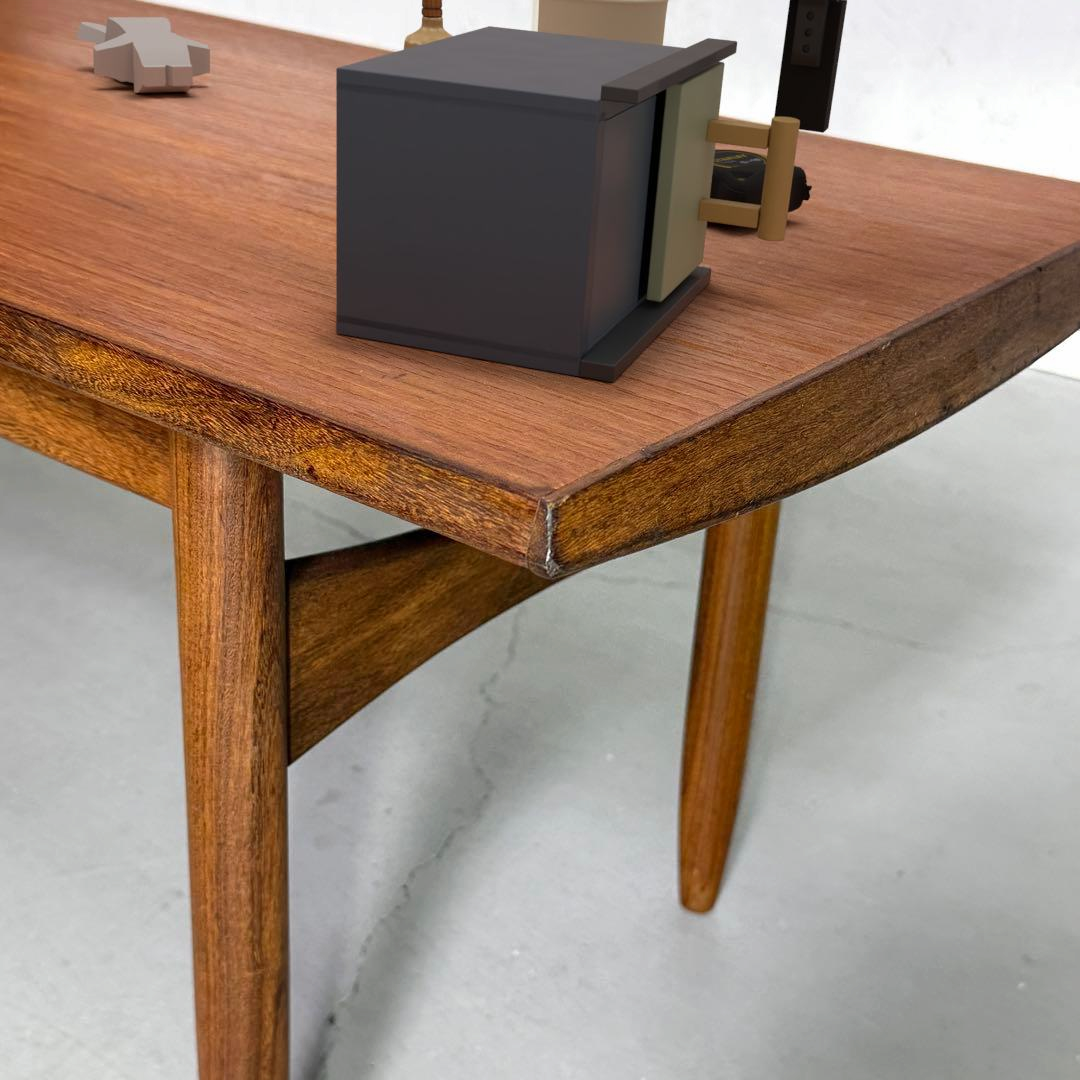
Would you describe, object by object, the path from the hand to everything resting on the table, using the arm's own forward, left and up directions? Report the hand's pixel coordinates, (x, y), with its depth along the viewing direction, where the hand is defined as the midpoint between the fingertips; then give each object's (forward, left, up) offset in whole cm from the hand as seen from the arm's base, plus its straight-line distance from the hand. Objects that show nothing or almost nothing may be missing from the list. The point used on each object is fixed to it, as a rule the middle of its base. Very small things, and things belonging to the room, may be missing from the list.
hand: (800, 126), depth 79 cm
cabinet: (+11, +12, -8) cm, 18 cm away
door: (+2, +8, -7) cm, 11 cm away
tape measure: (+5, -12, -8) cm, 15 cm away
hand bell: (+37, -36, -8) cm, 52 cm away
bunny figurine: (+61, -30, -8) cm, 68 cm away
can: (+19, -24, -8) cm, 31 cm away
